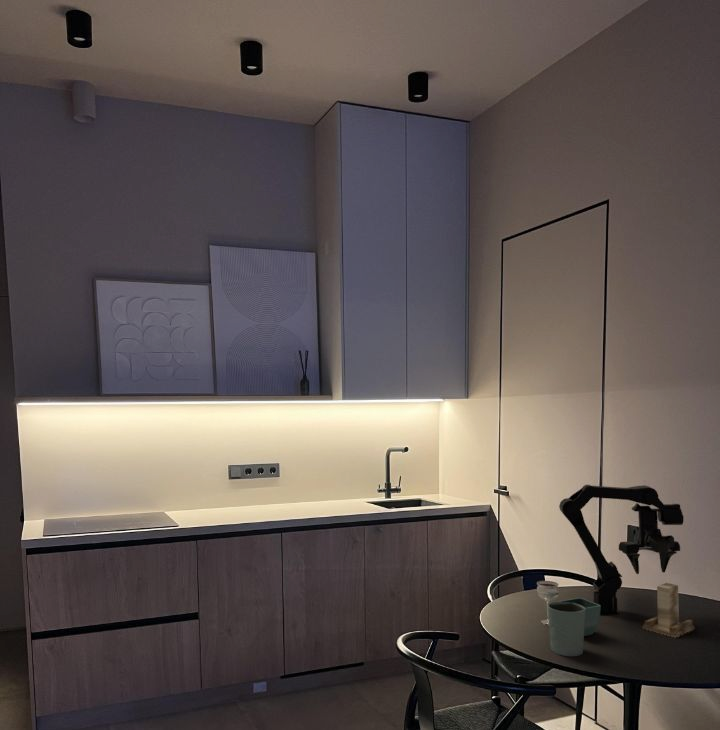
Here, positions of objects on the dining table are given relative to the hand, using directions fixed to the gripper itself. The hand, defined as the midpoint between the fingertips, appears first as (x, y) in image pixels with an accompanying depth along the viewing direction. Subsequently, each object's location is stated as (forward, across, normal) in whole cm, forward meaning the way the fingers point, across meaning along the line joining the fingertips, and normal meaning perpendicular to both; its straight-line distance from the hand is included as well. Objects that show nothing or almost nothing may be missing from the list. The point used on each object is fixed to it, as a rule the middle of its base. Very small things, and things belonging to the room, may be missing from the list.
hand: (650, 573), depth 217 cm
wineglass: (+13, -37, -3) cm, 39 cm away
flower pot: (+13, -32, -14) cm, 37 cm away
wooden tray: (+13, -4, -14) cm, 20 cm away
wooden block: (+12, -4, -14) cm, 19 cm away
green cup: (+13, -42, -26) cm, 51 cm away
